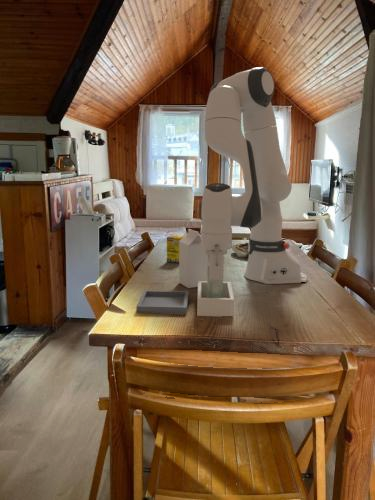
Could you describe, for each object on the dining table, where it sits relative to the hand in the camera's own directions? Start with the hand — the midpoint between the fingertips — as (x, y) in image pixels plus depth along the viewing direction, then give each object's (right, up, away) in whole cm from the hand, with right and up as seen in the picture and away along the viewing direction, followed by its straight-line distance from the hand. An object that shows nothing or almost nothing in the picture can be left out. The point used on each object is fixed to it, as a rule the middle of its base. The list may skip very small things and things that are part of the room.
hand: (215, 287), depth 115 cm
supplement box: (-13, +6, +51) cm, 53 cm away
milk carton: (-6, -1, +21) cm, 22 cm away
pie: (+22, +8, +65) cm, 69 cm away
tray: (-15, -5, +2) cm, 16 cm away
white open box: (0, -5, +1) cm, 6 cm away
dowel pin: (0, -5, +1) cm, 6 cm away
